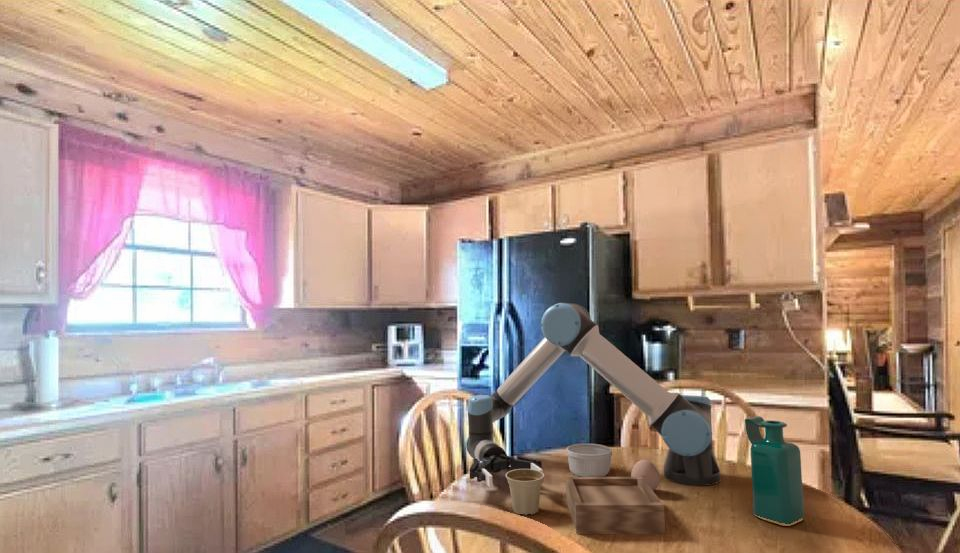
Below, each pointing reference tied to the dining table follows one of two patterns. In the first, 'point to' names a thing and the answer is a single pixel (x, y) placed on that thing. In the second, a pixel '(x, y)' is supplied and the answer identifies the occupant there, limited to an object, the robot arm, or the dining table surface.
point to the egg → (646, 473)
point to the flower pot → (525, 490)
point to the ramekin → (589, 460)
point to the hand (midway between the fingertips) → (516, 478)
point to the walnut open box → (614, 506)
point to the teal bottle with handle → (775, 472)
